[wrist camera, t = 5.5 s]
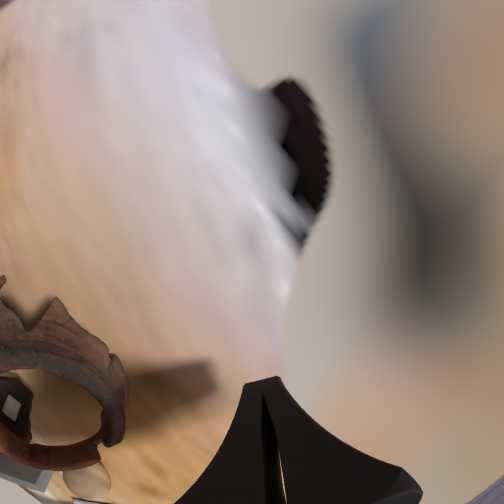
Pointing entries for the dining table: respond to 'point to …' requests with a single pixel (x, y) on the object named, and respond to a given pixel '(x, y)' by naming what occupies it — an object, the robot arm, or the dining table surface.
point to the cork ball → (88, 482)
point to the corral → (24, 474)
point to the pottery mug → (64, 365)
